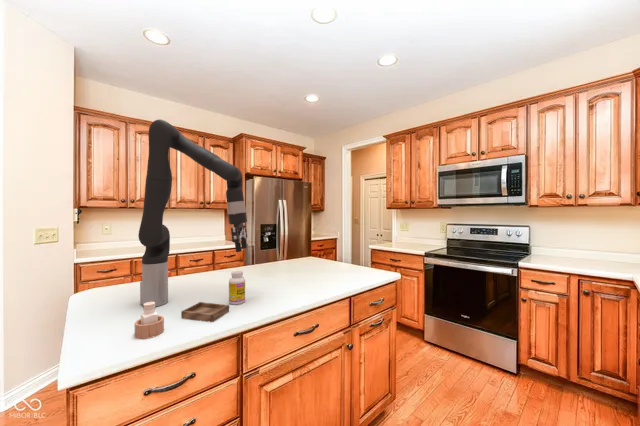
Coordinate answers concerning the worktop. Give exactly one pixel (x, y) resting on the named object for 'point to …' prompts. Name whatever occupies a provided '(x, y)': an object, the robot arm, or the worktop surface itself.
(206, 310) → the tray
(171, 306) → the worktop surface
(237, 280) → the supplement bottle
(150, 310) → the salt shaker
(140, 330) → the collar
